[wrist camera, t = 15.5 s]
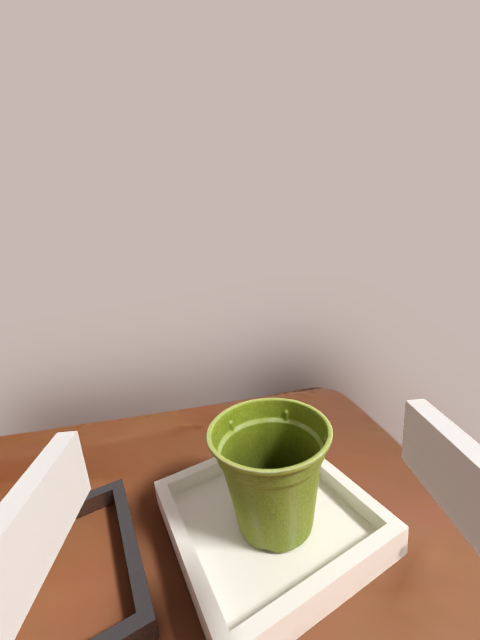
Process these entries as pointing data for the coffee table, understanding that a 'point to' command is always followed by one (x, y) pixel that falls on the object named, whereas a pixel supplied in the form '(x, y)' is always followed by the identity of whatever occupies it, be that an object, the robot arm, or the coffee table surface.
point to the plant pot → (271, 467)
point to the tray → (274, 555)
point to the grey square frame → (140, 628)
